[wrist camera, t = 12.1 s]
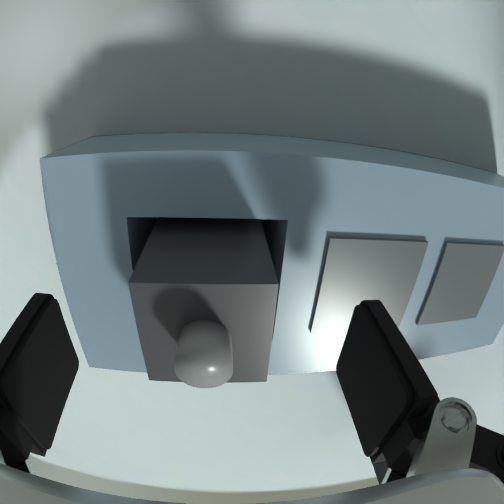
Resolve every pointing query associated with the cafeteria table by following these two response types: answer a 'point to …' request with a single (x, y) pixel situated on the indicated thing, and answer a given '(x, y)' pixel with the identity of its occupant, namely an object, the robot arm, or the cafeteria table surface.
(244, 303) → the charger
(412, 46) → the cafeteria table surface
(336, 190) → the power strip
